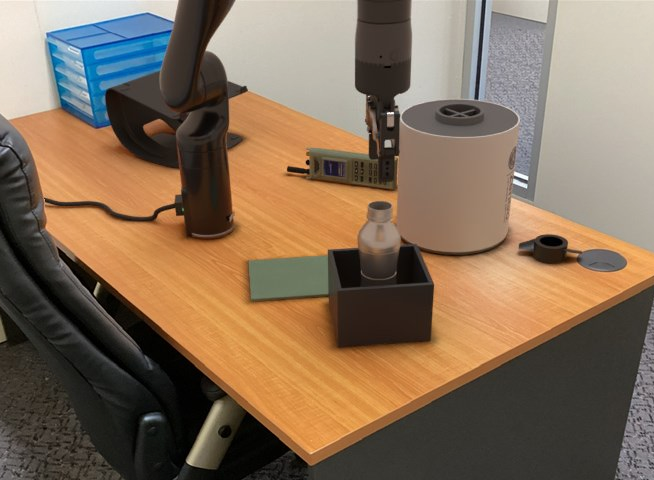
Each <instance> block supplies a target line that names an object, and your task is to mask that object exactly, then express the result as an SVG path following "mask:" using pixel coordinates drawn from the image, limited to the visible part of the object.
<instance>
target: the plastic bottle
mask: <svg viewBox="0 0 654 480" xmlns="http://www.w3.org/2000/svg"><path fill="white" fill-rule="evenodd" d="M366 208H367V211H366V219H367V220H366V222H365V223H364V224H363V225H362V226H361V227H360V229H359V231H358V233H357V237H356V241H357V248H358V249H359V255H360V264H361V286H360V287H369V286H384V285H396V270H397V260H398V255H399V249H400V245H401V244H402V243H401V241H402V238H401V236H400V233H399V231H398V229H397V227H396V224H395V223H394V222H393V221H392V219H394V211H393V210H394V206H393V204H392V203H391V202H389V201H387V200H375V201H371V202H368V204H367V207H366Z"/></svg>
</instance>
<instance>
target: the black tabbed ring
mask: <svg viewBox="0 0 654 480" xmlns="http://www.w3.org/2000/svg"><path fill="white" fill-rule="evenodd" d="M568 247H569V242H568V240H567V238H565V237H563V236H561V235H559V234H552V233H546V234H540V235H538V236H536V237H535V238H532V239H528V240H526V241H522V242H519V243H518V250H526V251H532V257H533V259H535V260H536V261H538V262H541V263H543V264H552V265H553V264H559V263H563V262H564V261H566V259H567V253H572V254H578V255H582V254H583V250H577V249H571V248H568Z"/></svg>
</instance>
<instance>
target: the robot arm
mask: <svg viewBox="0 0 654 480" xmlns="http://www.w3.org/2000/svg"><path fill="white" fill-rule="evenodd" d="M235 2H236V0H177V5H176V10H175V16H174V21H173V23H172V24H173V25H172V28H171V33H170V36H169V39H168V43H167V46H166V49H165V53H164V56H163V60H162V63H161V66H160V70H161V71H160V70H159V71H160V92H161V96H162V98H163V101H164V103H165V104H166V106H167V107H168V108H169V109H170V110H171V111H173V112H176V113H188V112H190V113H189V115H188V117H187V119H186V120H185V121H184V122H183V123H182V124H181V125H180V126H179V128H178V129H177V131H175V135H176V144H177V152H178V161H179V168H178V169H179V176H180V177H179V178H180V194H174V195H175V197H174V202H173V203H170V204H167V205H163V206H159V207H157V208H156V209H155V210H154V212H153V214H152V215H150V216H149V215H148V216H133V215H129V214H123V213H119V212H116V211H114V210H113V209H111V208H110V206H108V205H107V204H105V203H104V202H99V201H94V200H82V201H81V200H80V201H79V200H78V201H60V200H59V201H58V200H55V199H52V198H48V197H44V199H45V202H44V203H46V204H49V205H52V206H57V207H63V208H65V207H68V208H69V207H98V208H100V209H103V210H104V211H106V213H108V215H110V216H112V217H114V218H116V219H121V220H125V221H130V222H152V221H155V220H156V219H157V218H158V216H159V215H160V214H161V213H162V212H165V211H169V210H173V209H174V211H175V217H182V216H183V221H184V228H185V236H186V238H194V239H201V240H213V239H219V238H222V237H226V236H228V235H230V234H231V233H232V232H233V231H234V230H235V220H234V217H235V215H236V214H235V210H234V209H233V197H232V187H231V186H232V185H231V176H230V165H229V164H230V162H229V151H228V150H229V149H228V150H227V132H228V133H229V129H230V99H229V91H228V81H229V79H228V76H227V72H226V69H225V66H224V64H223V62H222V60H221V58H219V56H218V55H216V54H215V53H214V52H212V51H210V50H207V48H208V45H209V44H210V42H211V40H212V39H213V36H214V35H215V33H216V32H217V31H218V29H219V28H220V26H221V25H222V23H223V22H224V20H225V19H226V18H227V16H228V14H229V13H230V11H231V9H232V8H233V6H234V4H236V3H235ZM412 3H413V1H412V0H356V25H355V33H354V34H355V35H354V88H355V90H356V91H357V92H358V93H360V94H362V95H365V119H364V123H365V125H366V126H367V127H366V132H367V133H368V154H369V158H370V159H371V160H377V159H378V180H379V182H392V181H393V180H394V164H395V157H399V153H400V150H399V131H400V115H401V112H400V109H399V108H400V107H399V105H398V104H396V100H395V97H397V96H398V95H402V94H404V93H406V92H408V91H409V90H410V88H411V80H412V79H411V78H412V55H413V53H412V52H413V30H412V29H413V28H412V5H413V4H412ZM386 141H390V146H387V147H386V145H385V144H386V143H385V142H386Z"/></svg>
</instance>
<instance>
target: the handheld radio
mask: <svg viewBox="0 0 654 480" xmlns="http://www.w3.org/2000/svg"><path fill="white" fill-rule="evenodd" d="M305 150H307V151H306V153H305V156H306V157H309V159H306V160H305V165H306V166H309V168H304V167H299V166H298V167H297V166H290V165H287V167H286V172H287V173H293V174H301V175H304V174H305V175H307V176H306V177H305V179H307V180H313V181H314V180H315V181H322V182H329V183H337V184H343V185H350V186H351V185H352V186H360V187H366V188H367V187H368V188H374V189H382V190H390V191H396V189H398V159H399V157H398V156H395V164H394V180H393V181H392V182H379V180H378V159H377V160H371V159H370V158H369V153H362V152H361V153H360V152H355V151H346V150H338V149H337V150H336V149H330V148H320V147H313V146H312V147H311V146H307V147H305Z"/></svg>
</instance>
